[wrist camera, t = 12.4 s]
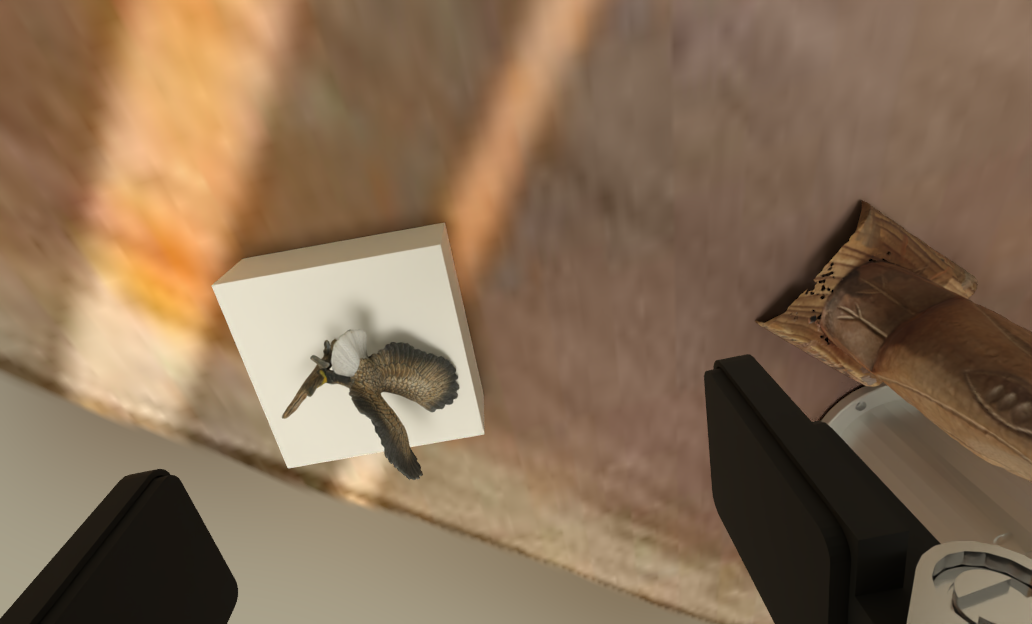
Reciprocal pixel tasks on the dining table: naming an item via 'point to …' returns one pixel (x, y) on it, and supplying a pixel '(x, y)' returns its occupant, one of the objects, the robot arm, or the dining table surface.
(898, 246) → the bird sculpture
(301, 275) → the stand
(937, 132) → the dining table surface
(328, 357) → the eagle figurine
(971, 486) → the robot arm
